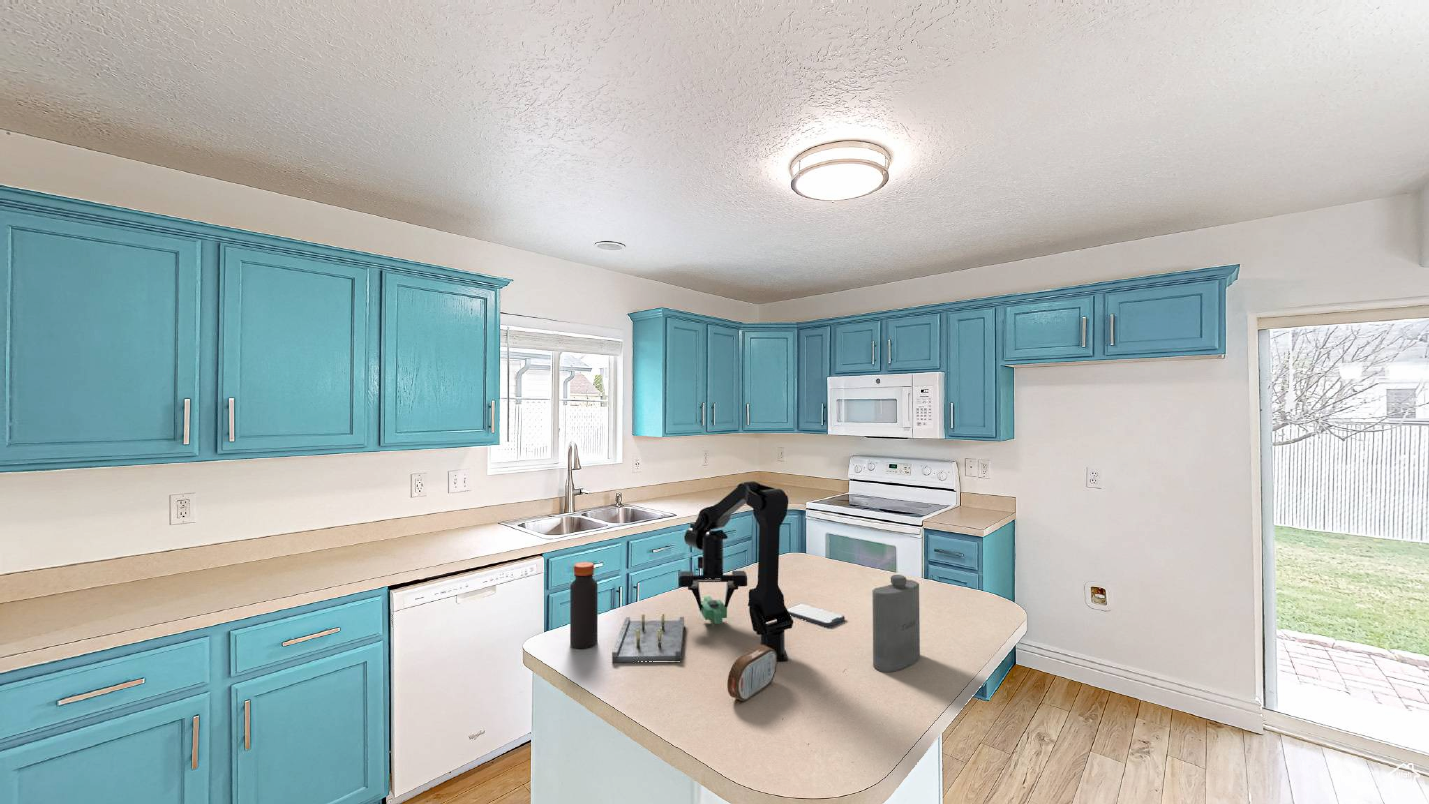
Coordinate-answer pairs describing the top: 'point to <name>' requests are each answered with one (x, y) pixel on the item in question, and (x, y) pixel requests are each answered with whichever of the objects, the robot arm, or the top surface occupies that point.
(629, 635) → the chassis
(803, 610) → the phone case
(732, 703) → the top surface
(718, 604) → the green block piece
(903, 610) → the flask
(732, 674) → the tin
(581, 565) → the bottle
